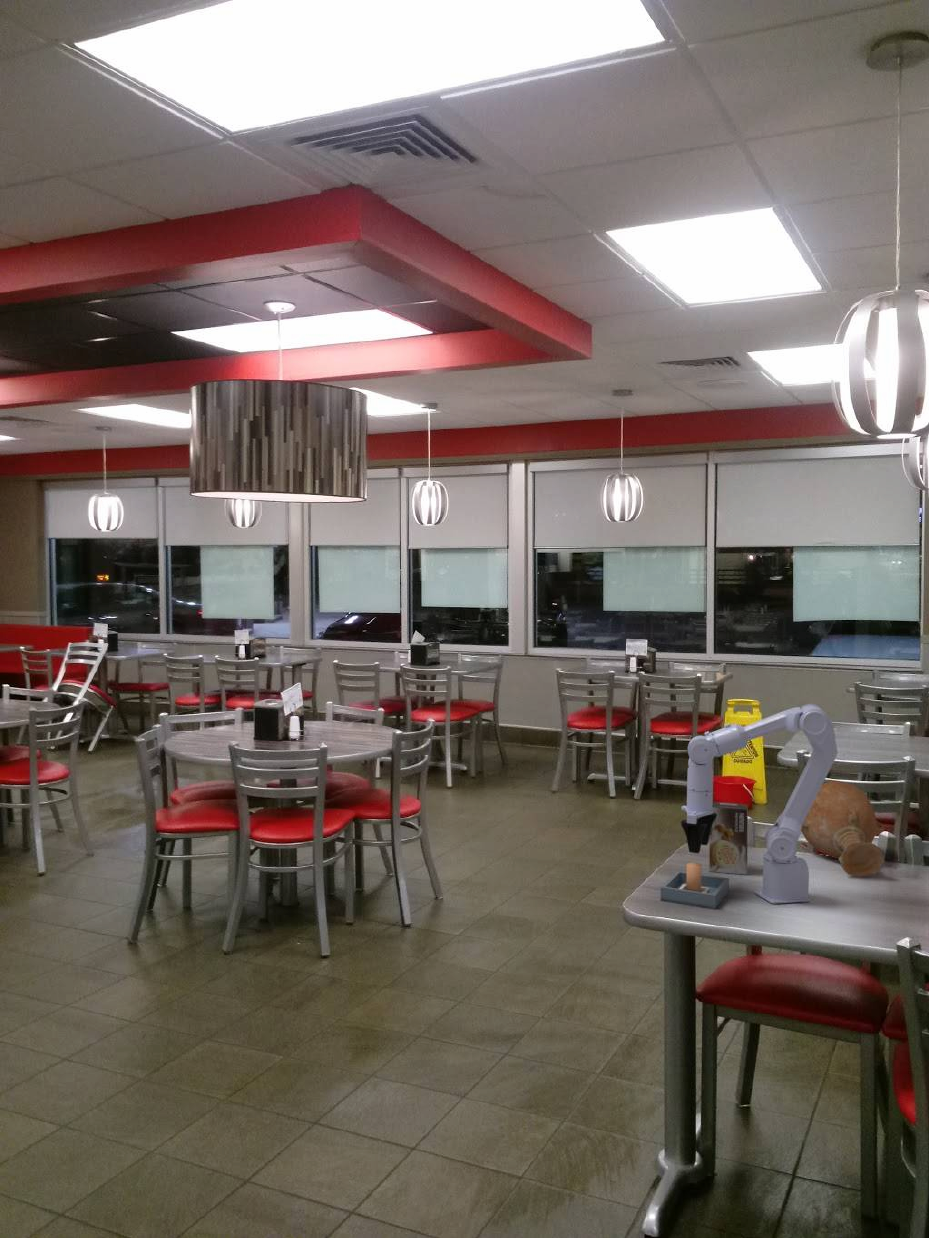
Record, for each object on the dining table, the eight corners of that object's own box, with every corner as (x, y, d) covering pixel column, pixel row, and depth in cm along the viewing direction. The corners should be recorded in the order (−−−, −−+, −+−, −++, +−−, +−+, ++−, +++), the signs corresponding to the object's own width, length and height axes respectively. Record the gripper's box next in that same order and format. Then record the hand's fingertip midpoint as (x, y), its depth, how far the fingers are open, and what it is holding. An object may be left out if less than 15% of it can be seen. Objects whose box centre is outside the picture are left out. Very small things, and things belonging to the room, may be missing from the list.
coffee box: (747, 868, 254) (749, 803, 253) (746, 875, 248) (748, 809, 247) (709, 864, 257) (711, 800, 256) (707, 871, 251) (709, 806, 250)
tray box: (677, 883, 241) (677, 870, 241) (728, 891, 235) (729, 878, 235) (660, 900, 228) (660, 887, 228) (714, 909, 223) (715, 895, 223)
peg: (697, 893, 232) (698, 862, 231) (702, 897, 229) (703, 866, 228) (684, 893, 231) (684, 862, 231) (689, 898, 228) (689, 867, 228)
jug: (879, 803, 274) (925, 847, 245) (832, 856, 277) (872, 905, 248) (822, 759, 273) (862, 797, 243) (775, 812, 276) (809, 857, 246)
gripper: (690, 781, 242) (689, 838, 243) (674, 793, 229) (672, 853, 230) (720, 784, 239) (719, 842, 240) (705, 796, 226) (704, 858, 227)
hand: (698, 848), depth 235 cm, fingers open, 7 cm apart
